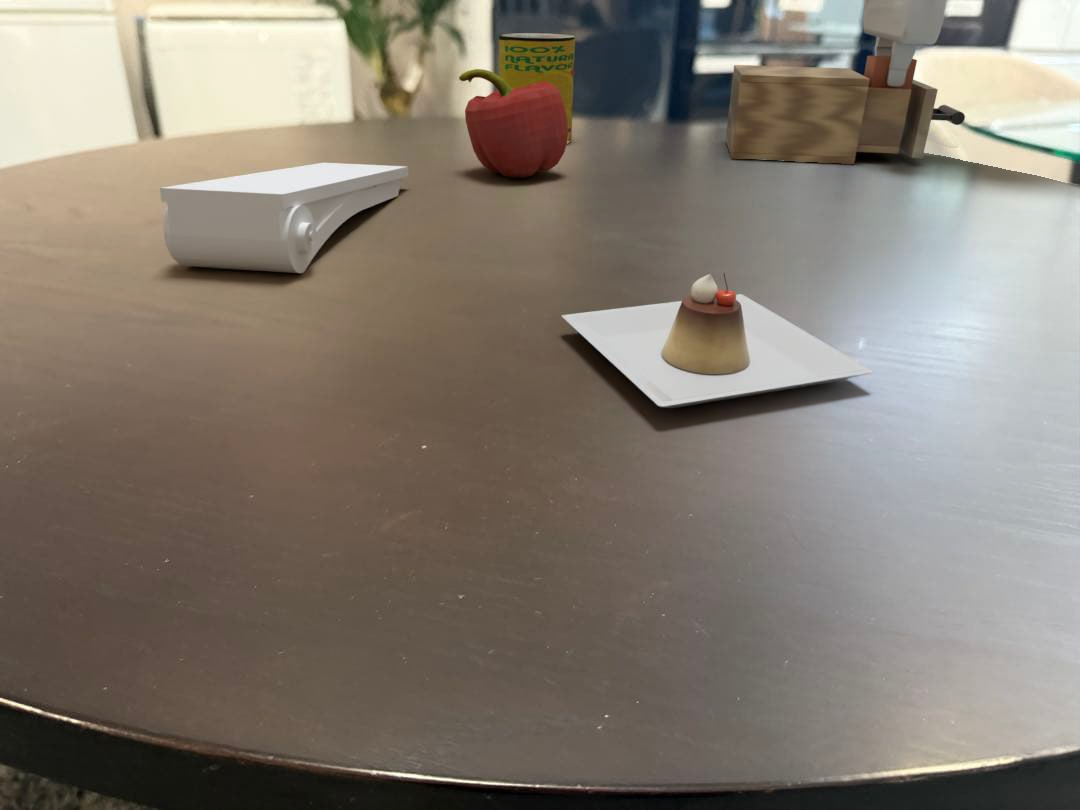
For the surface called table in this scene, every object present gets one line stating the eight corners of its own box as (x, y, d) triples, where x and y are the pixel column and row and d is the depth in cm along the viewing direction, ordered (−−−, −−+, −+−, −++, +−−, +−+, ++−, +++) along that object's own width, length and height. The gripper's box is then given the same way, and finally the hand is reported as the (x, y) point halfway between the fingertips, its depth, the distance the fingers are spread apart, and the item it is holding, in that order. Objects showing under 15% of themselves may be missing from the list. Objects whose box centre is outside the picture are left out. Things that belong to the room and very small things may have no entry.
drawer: (935, 143, 102) (949, 80, 99) (961, 160, 93) (978, 90, 90) (795, 138, 104) (805, 75, 101) (808, 153, 95) (818, 85, 91)
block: (898, 97, 98) (907, 56, 96) (908, 102, 94) (917, 59, 92) (860, 95, 98) (867, 55, 96) (868, 100, 94) (875, 58, 92)
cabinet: (835, 146, 104) (849, 68, 100) (854, 164, 94) (870, 78, 90) (725, 141, 106) (734, 64, 102) (731, 159, 96) (741, 74, 91)
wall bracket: (329, 241, 82) (175, 302, 56) (308, 166, 80) (137, 193, 54) (425, 221, 80) (312, 274, 54) (406, 143, 78) (278, 159, 52)
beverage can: (579, 146, 101) (584, 38, 96) (506, 147, 99) (507, 37, 94) (561, 133, 109) (564, 33, 103) (493, 135, 107) (492, 32, 102)
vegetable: (449, 181, 82) (446, 73, 78) (473, 161, 92) (471, 63, 87) (558, 187, 81) (561, 77, 76) (572, 166, 90) (575, 67, 86)
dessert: (870, 391, 42) (891, 301, 40) (657, 428, 38) (667, 330, 36) (739, 310, 52) (749, 234, 50) (560, 333, 48) (562, 252, 46)
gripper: (977, -60, 79) (943, 95, 86) (919, -52, 97) (894, 75, 104) (908, -60, 80) (879, 93, 86) (863, -53, 98) (842, 73, 104)
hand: (887, 83), depth 95 cm, fingers closed on block, 4 cm apart
